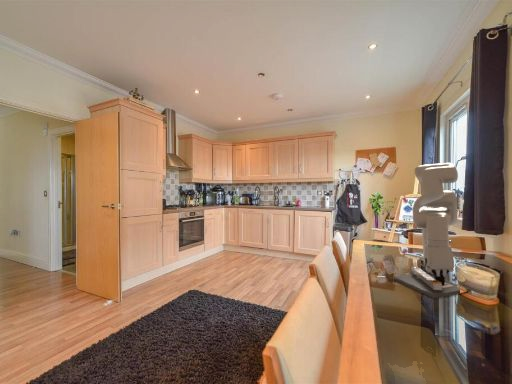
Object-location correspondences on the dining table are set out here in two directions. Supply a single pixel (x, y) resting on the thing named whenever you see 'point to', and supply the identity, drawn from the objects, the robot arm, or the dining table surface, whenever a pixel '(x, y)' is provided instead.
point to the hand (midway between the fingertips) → (440, 284)
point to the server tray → (422, 287)
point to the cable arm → (427, 278)
